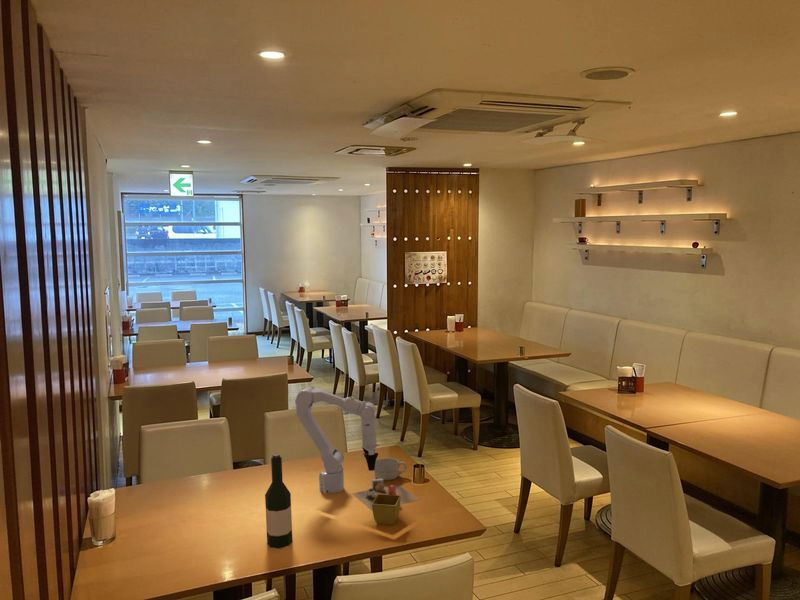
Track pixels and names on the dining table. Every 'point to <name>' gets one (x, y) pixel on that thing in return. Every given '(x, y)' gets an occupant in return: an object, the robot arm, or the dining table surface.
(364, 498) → the bench board
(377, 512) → the flower pot
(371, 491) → the lever
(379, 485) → the walnut ball
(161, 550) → the dining table surface
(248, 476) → the dining table surface
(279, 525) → the wine bottle
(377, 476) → the teacup
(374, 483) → the anvil
